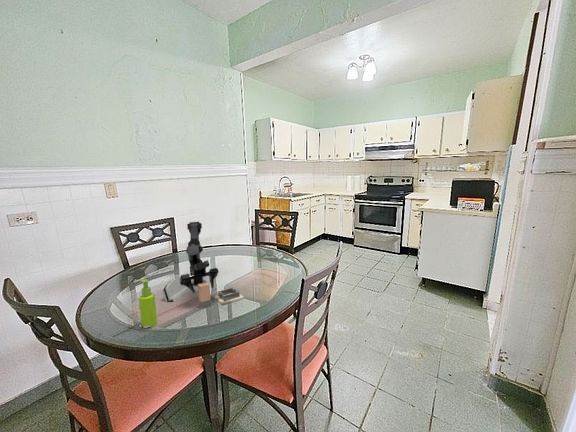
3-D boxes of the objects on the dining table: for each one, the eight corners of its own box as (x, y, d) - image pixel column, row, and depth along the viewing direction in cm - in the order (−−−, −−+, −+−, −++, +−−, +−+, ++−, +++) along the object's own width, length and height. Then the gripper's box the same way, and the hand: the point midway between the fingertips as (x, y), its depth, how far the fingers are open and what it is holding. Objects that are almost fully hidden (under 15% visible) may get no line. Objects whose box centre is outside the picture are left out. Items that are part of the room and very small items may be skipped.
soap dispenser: (151, 319, 113) (147, 276, 111) (159, 323, 109) (155, 279, 107) (138, 325, 108) (133, 281, 106) (145, 330, 104) (141, 284, 102)
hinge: (173, 302, 130) (166, 284, 130) (166, 304, 131) (158, 287, 131) (190, 289, 147) (184, 274, 146) (184, 291, 148) (177, 276, 147)
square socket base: (214, 297, 134) (213, 291, 134) (234, 291, 141) (234, 285, 141) (222, 305, 124) (221, 298, 124) (244, 298, 131) (243, 292, 131)
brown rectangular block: (199, 305, 126) (197, 284, 125) (207, 302, 128) (206, 281, 127) (201, 308, 122) (200, 286, 121) (210, 305, 125) (209, 284, 124)
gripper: (179, 259, 122) (186, 287, 114) (216, 252, 133) (225, 278, 125) (176, 271, 129) (183, 298, 121) (212, 264, 140) (220, 288, 132)
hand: (203, 290), depth 124 cm, fingers open, 9 cm apart
